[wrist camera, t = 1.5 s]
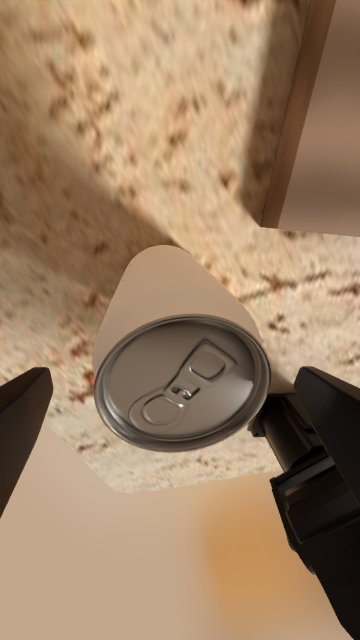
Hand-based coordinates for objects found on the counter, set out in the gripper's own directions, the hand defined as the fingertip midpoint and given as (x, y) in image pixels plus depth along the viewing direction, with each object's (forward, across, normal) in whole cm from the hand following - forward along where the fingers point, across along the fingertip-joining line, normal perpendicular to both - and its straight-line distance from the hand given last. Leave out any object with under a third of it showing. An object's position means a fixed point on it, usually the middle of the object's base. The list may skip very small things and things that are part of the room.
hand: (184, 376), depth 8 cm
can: (+11, 0, 0) cm, 11 cm away
